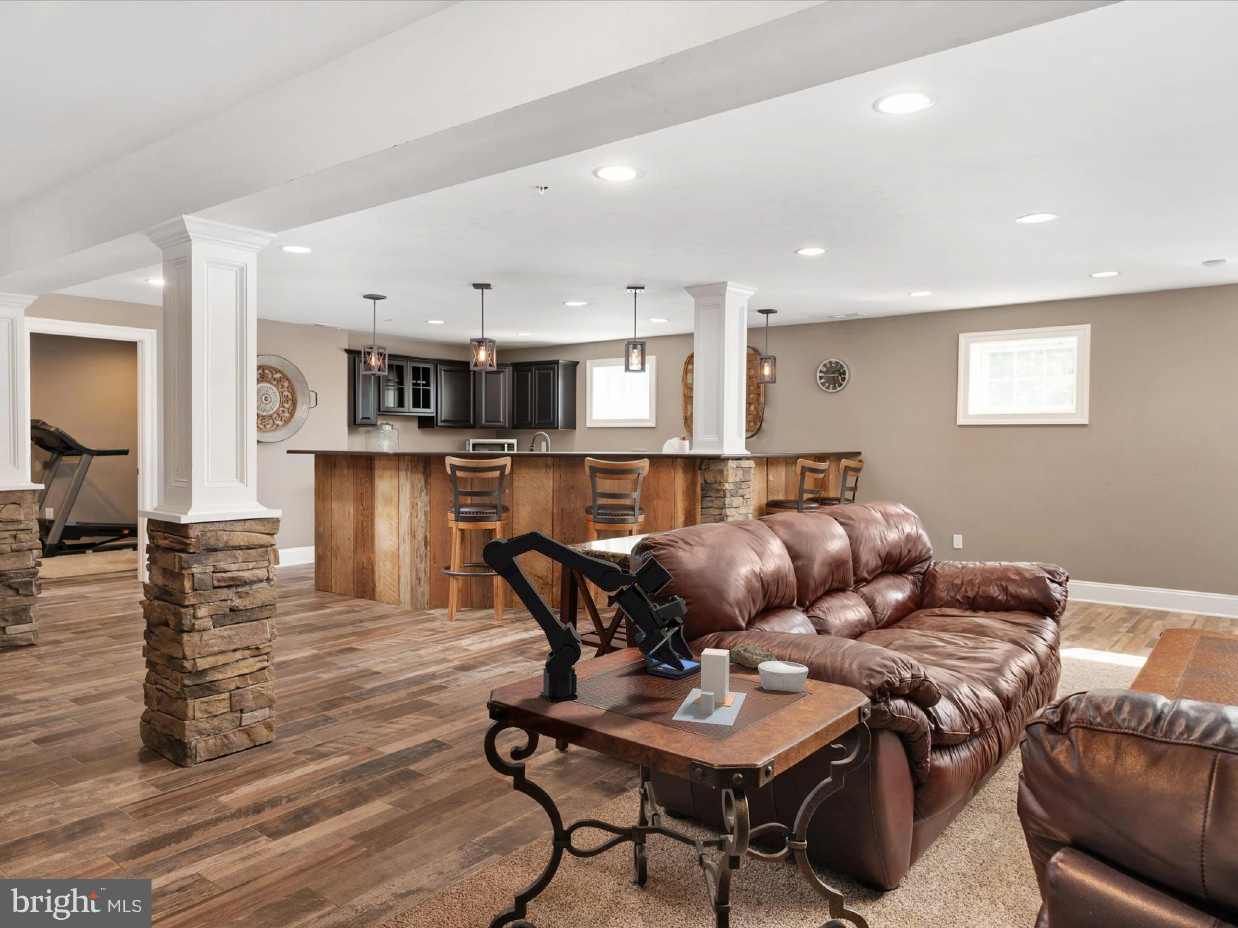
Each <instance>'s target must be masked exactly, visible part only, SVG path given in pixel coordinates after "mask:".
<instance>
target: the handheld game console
mask: <svg viewBox="0 0 1238 928" xmlns="http://www.w3.org/2000/svg"><path fill="white" fill-rule="evenodd" d="M634 636H635V637H634V638H635V641H636V643H637V646H638V647H639V644H640V643H641V642H642V641H643V640H644V639H643V638H644V637H645V635H644V634H643V633H642V632H641V631H640V632H637V633H636V634H635V635H634ZM674 652H675V651H674ZM651 653H652V651H651V652H650V653H649V654H648V655H647V656H645V657H644V656H643V655H642V657H643V659H644V663H645V664H646V665H647V668H646V669H647V671H646V672H647V673H648V674H654V675H658V676H662V677H666V678H671V679H676V680H679V679H683V678H685V677H688V676H691V675H693V674H695V673H698V672H701V659H695V658H693V659H692V660H691V661H689V660H688V659H686V658H684V657H683V656H681V655H679V654H678V653H676V652H675V653H676V655H677V656H678V657H679V659H680V660H681V662H682V664H683V665H684V667H685V669H684V670H683V671H679V670H677V669H675V668H673V667H671V666H668V665H666V664H664V663H662V662H659V661H657V660H655V659H652V658H648V656H649V655H650V654H651Z"/></svg>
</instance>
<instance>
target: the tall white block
mask: <svg viewBox="0 0 1238 928" xmlns="http://www.w3.org/2000/svg"><path fill="white" fill-rule="evenodd" d="M700 660H701V671H700V689H701V693H702V691H714V692H715V702H717V703H726V701H727V699H728V697H729V692H730V650H729V649H722V648H721V649H720V648H719V649H718V648H708V647H707V648H706V647H705V648H704V649H703V651H702V652H701V654H700Z"/></svg>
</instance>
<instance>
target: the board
mask: <svg viewBox="0 0 1238 928" xmlns="http://www.w3.org/2000/svg"><path fill="white" fill-rule="evenodd" d="M747 694H748V693H747V692H739V691H738V692H736V691H729V697H728V699H727V701H726V703H717V702H715V692H714V691H702V693H701V688H694V687H693V688H692V689H691V691H690V692H689V694H688V695H687V696H686V699H684V701H683V703H682V704H681V706H680V707H679V708H678V710H677V711H676V713H675V714H674V716H673V717H672V719H671V721H672V720H674V721H682V722H692V723H702V724H709V725H710V724H711V725H720V726H731V727H733V726H734V723H735V721H736V719H737V717H738V715H739V712H740V710H741V709H742V705H743V703H744V701H745V698H746V697H747Z"/></svg>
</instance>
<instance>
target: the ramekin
mask: <svg viewBox="0 0 1238 928" xmlns="http://www.w3.org/2000/svg"><path fill="white" fill-rule="evenodd" d="M757 670H758V674H759V680H760V685H761V687H762V688H763V690H769V691H771V690H772V691H779V692H780V691H782V692H793V693H802V692H803V691H804V689H805V686H806V682H807V678H808V677H807V676H808V674H809V668H808V666H805V665H804V664H801V663H798V662H794V661H793V662H792V661H786V660H785V661H784V660H777V661H767V662H763V663H760V664H759V665H758V668H757Z"/></svg>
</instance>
